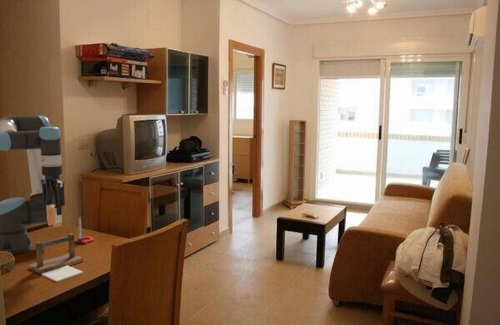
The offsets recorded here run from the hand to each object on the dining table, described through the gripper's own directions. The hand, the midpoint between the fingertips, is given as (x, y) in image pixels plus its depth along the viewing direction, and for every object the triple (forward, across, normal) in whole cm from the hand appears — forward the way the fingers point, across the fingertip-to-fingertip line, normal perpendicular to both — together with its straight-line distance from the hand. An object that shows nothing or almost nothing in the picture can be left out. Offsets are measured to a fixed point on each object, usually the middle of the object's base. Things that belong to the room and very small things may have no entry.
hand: (54, 221), depth 177 cm
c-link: (+2, 0, 0) cm, 2 cm away
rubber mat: (+19, +11, -4) cm, 22 cm away
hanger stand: (+19, 0, 0) cm, 19 cm away
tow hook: (+19, -19, +25) cm, 37 cm away
